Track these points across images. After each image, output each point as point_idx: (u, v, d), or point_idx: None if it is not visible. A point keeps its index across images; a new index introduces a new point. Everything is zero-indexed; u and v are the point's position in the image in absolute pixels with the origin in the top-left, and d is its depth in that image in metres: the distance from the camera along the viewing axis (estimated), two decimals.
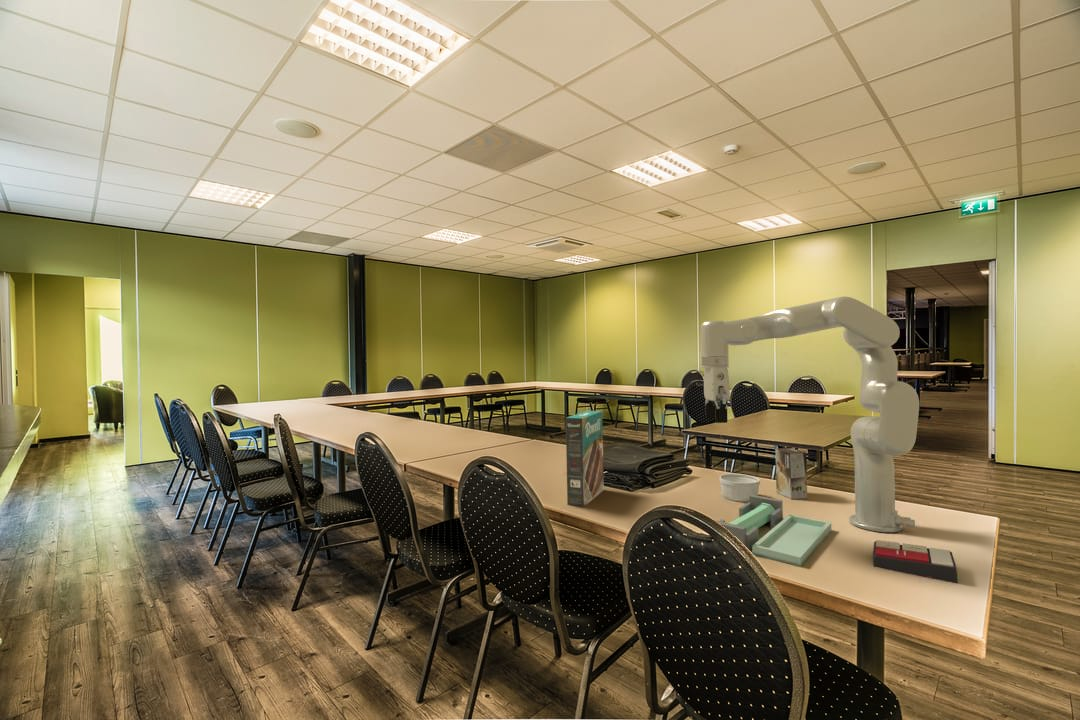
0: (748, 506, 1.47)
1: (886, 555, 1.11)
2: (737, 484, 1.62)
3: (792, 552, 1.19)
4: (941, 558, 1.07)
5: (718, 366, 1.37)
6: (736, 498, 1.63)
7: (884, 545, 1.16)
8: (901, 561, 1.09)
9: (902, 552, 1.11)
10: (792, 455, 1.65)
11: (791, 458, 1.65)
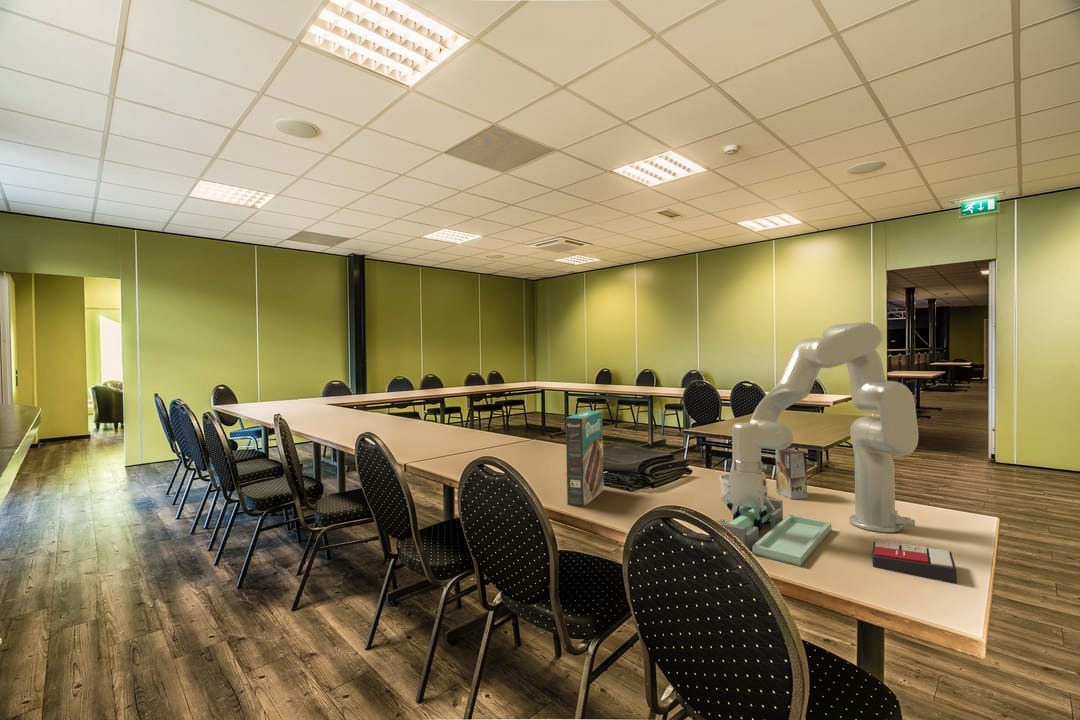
0: None
1: (885, 555, 1.11)
2: None
3: (792, 552, 1.19)
4: (940, 558, 1.07)
5: (760, 472, 1.33)
6: None
7: (883, 545, 1.16)
8: (901, 562, 1.08)
9: (901, 552, 1.11)
10: (792, 455, 1.65)
11: (791, 458, 1.65)
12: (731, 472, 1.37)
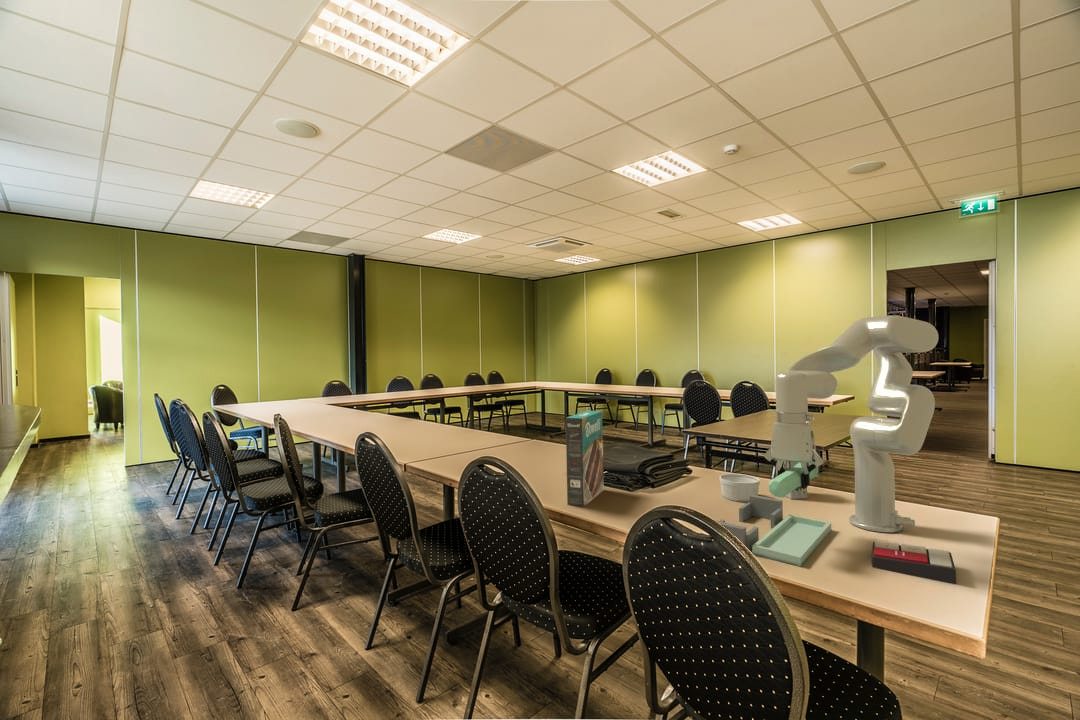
0: (748, 506, 1.47)
1: (885, 556, 1.10)
2: (737, 484, 1.62)
3: (792, 552, 1.19)
4: (940, 559, 1.07)
5: (807, 423, 1.25)
6: (736, 498, 1.63)
7: (883, 546, 1.16)
8: (900, 562, 1.08)
9: (901, 553, 1.11)
10: None
11: None
12: (775, 425, 1.28)
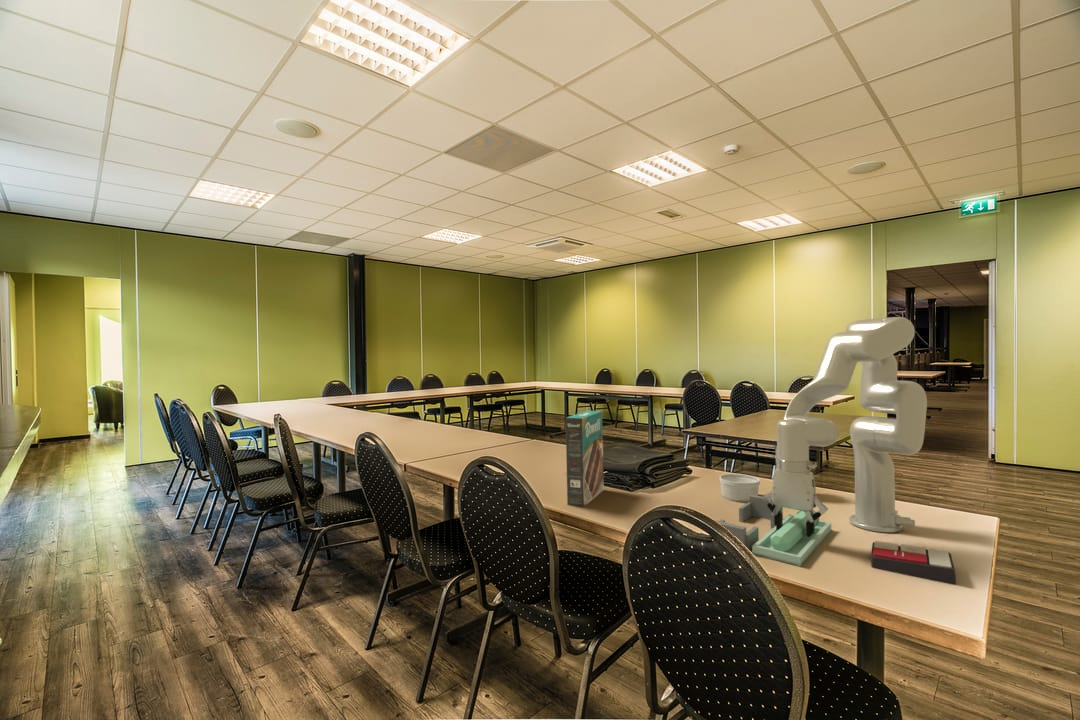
0: (748, 506, 1.47)
1: (884, 556, 1.10)
2: (737, 484, 1.62)
3: (792, 552, 1.19)
4: (939, 559, 1.07)
5: (808, 472, 1.25)
6: (736, 498, 1.63)
7: (882, 546, 1.16)
8: (899, 562, 1.08)
9: (900, 553, 1.11)
10: None
11: None
12: (776, 472, 1.28)
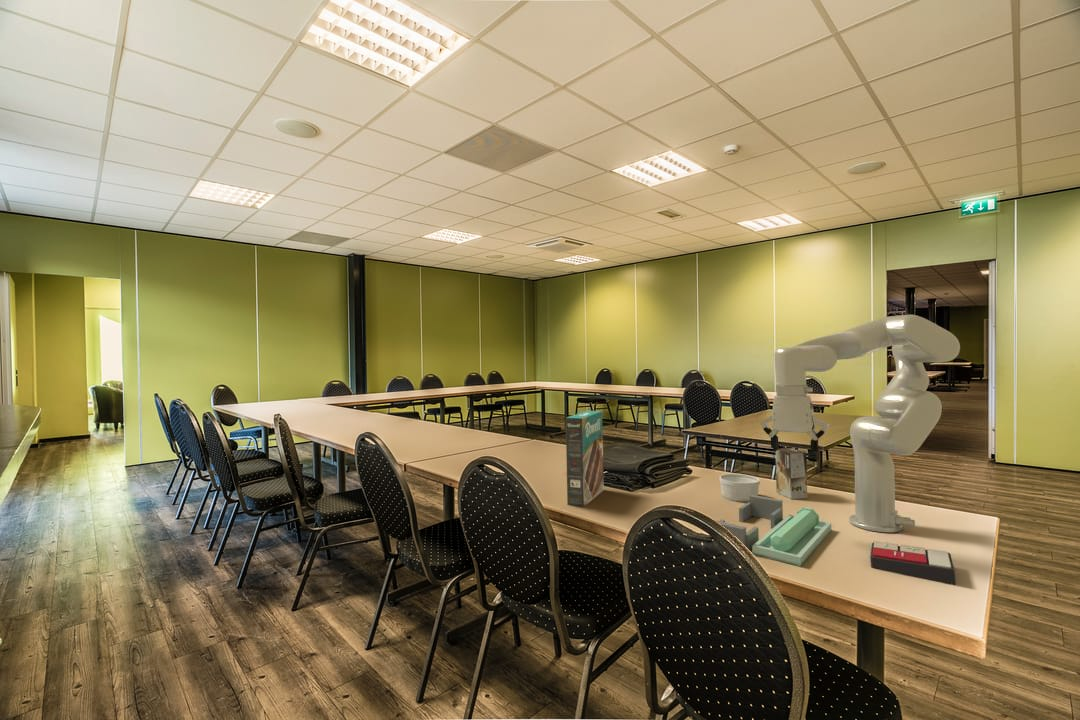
0: (748, 506, 1.47)
1: (883, 556, 1.10)
2: (737, 484, 1.62)
3: (792, 552, 1.19)
4: (939, 559, 1.07)
5: (806, 395, 1.30)
6: (736, 498, 1.63)
7: (882, 546, 1.15)
8: (899, 563, 1.08)
9: (900, 553, 1.11)
10: (792, 455, 1.65)
11: (791, 458, 1.65)
12: (775, 399, 1.34)
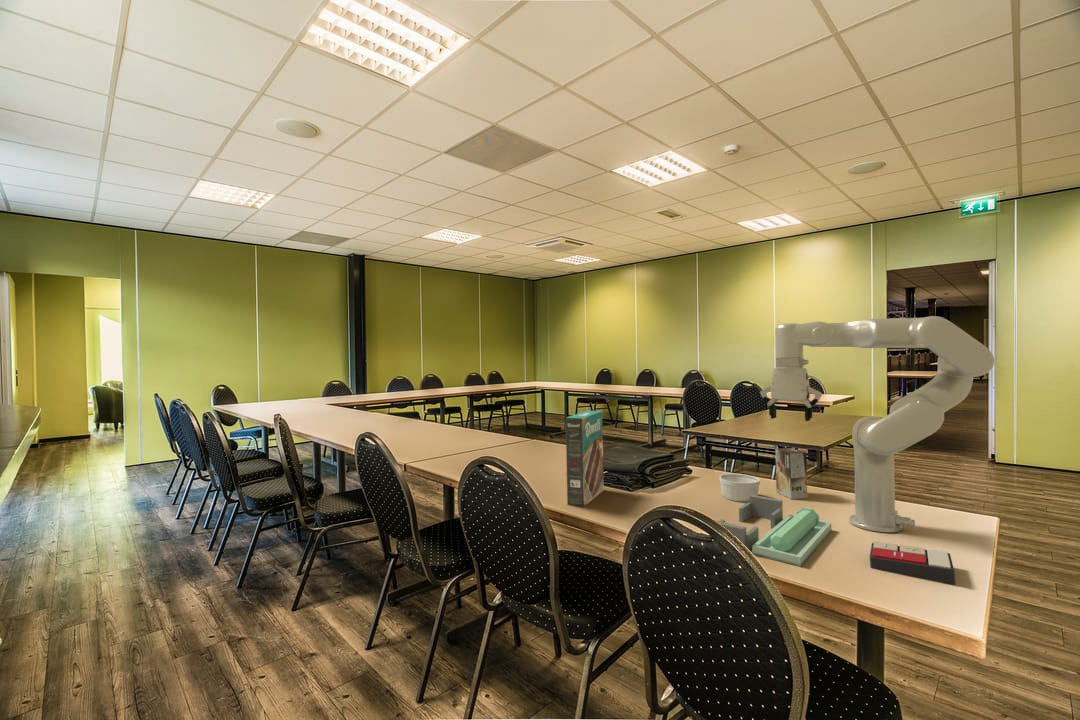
0: (748, 506, 1.47)
1: (883, 556, 1.10)
2: (737, 484, 1.62)
3: (792, 552, 1.19)
4: (939, 560, 1.07)
5: (802, 367, 1.43)
6: (736, 498, 1.63)
7: (881, 546, 1.15)
8: (898, 563, 1.08)
9: (899, 553, 1.11)
10: (792, 455, 1.65)
11: (791, 458, 1.65)
12: (774, 370, 1.47)
